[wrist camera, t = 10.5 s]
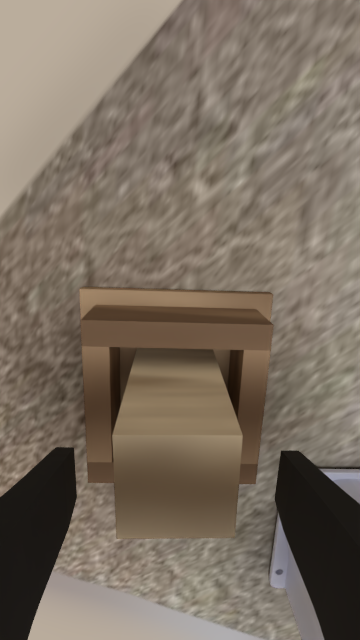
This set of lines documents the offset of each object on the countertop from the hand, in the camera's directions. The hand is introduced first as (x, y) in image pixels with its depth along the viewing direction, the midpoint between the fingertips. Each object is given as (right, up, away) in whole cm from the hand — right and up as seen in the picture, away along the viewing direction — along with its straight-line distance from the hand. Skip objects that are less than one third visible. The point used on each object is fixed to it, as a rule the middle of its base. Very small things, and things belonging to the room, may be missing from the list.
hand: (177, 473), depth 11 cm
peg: (0, +2, +7) cm, 7 cm away
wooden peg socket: (0, +2, +8) cm, 8 cm away
